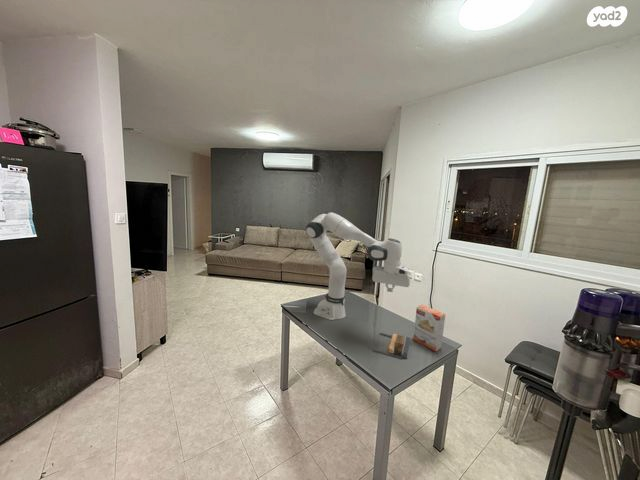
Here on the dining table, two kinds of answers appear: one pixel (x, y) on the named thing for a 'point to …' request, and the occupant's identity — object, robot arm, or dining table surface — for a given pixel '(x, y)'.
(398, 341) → the walnut block
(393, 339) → the sliding jaw
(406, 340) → the base
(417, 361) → the dining table surface
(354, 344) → the dining table surface
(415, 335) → the cracker box
